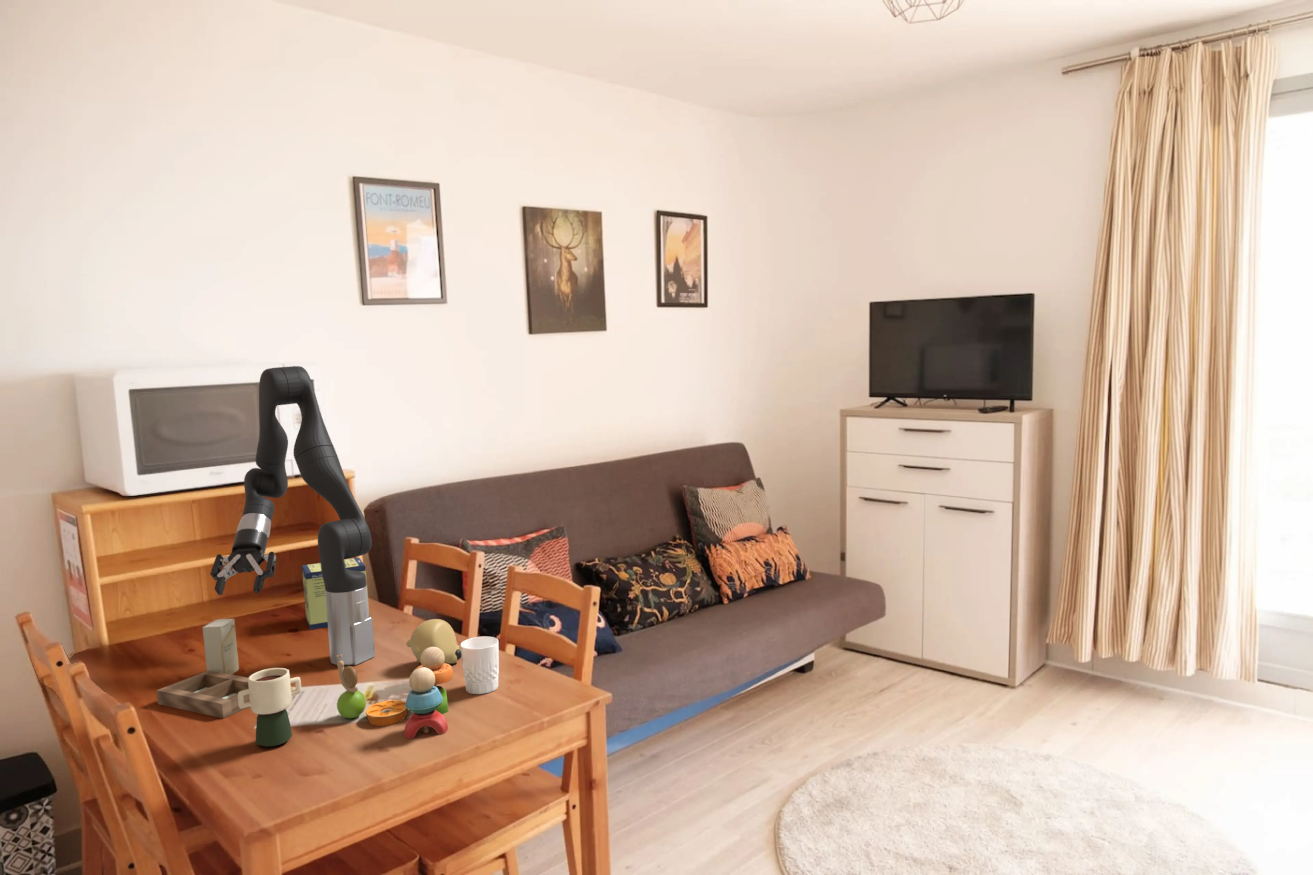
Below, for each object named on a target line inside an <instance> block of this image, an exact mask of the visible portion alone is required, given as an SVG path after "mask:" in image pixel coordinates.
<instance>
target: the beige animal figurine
mask: <svg viewBox="0 0 1313 875" xmlns="http://www.w3.org/2000/svg"><path fill="white" fill-rule="evenodd" d="M406 646H407V647H408V648H410V649H411V651H412V653H413V655H414V657H415V658H416V661H417V663H420V664H421V661H420V658H421V655H422V653H423V651H424V650H425V649H427V648H429V647H437V648H439V649H441V650H442V651H443V653H444V656H445V660H444V663H446V664H449V665H451V664H455V663H457V662H458V661H459V660H460V659H462V655H461V646H460V645H459V644H458V642H457V637H456V634H455V631H454V628H452V626H451V625H450V624H449V623H448V622H447V621H445V620H443V619H440V618H432V619H427V620H425V621H423V622H422V623H420V624H418V625H417V626H416V628H415V629H414V630H413V632H412V634H411V636H410V639H409V640H408V641H406Z"/></svg>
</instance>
